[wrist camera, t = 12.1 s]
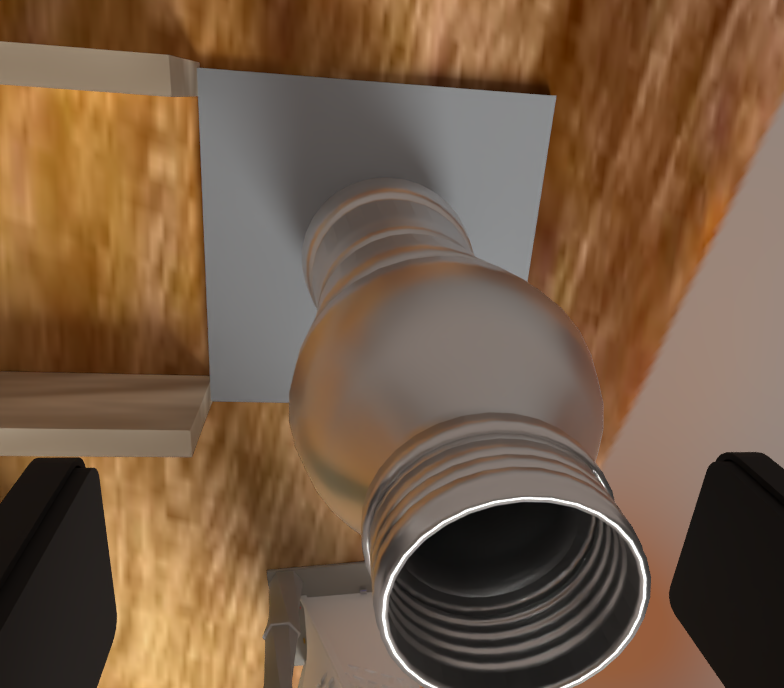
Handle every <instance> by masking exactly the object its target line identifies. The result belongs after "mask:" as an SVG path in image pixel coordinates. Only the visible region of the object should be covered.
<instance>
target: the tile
mask: <svg viewBox="0 0 784 688" xmlns="http://www.w3.org/2000/svg"><path fill="white" fill-rule="evenodd" d="M197 82H198V105H199V129H200V153H201V177H202V200H203V224H204V248H205V272H206V296H207V319H208V343H209V367H210V391H211V401H220V402H277V403H289V391H290V387H291V383H292V379H293V375H294V371H295V366H296V363H297V359H298V355H299V351H300V348H301V346H302V344H303V342H304V340H305V338H306V336H307V334H308V331H309V329H310V327H311V325H312V324H313V322H314V319H315V317H316V314H317V308H316V307H315V305H314V303H313V300H312V298H311V296H310V293H309V291H308V288H307V286H306V283H305V279H304V274H303V269H302V247H303V242H304V238H305V234H306V231H307V229H308V227H309V225H310V222H311V220H312V218H313V217H314V215H315V214H316V213H317V211H318V210H319V209H320V207H321V206H322V205H323V204H324V203H325V202H326V201H327V200H328V199H329V198H330V197H332V196H333V195H334V194H335V193H336V192H338V191H340V190H342V189H344V188H345V187H347V186H349V185H351V184H354V183H357V182H360V181H363V180H366V179H374V178H383V177H387V178H398V179H404V180H408V181H411V182H414V183H418V184H420V185H422V186H424V187H426V188H428V189H430V190H431V191H433V192H435V193H436V194H437V195H439V196H440V197H441V198H442V199H444V200H445V201H446V202H447V203H448V204H449V205H450V206H451V208H452V209H453V210H454V211H455V212H456V214H457V215H458V216H459V218H460V220H461V222H462V224H463V226H464V228H465V229H466V232H467V234H468V237H469V239H470V242H471V246H472V249H473V253H474V256H475V257H477V258H479V259H482V260H484V261H486V262H488V263H491V264H493V265H495V266H499V267H500V268H502V269H504V270H506V271H508V272H510V273H512V274H514V275H516V276H518V277H520V278H522V279H524V280H525V281H526V282H527V280H528V273H529V267H530V261H531V254H532V248H533V241H534V235H535V229H536V222H537V216H538V210H539V203H540V197H541V190H542V184H543V178H544V171H545V165H546V158H547V152H548V146H549V139H550V133H551V126H552V120H553V114H554V107H555V101H556V96H550V95H538V94H525V93H512V92H500V91H487V90H474V89H462V88H449V87H436V86H423V85H411V84H398V83H385V82H373V81H360V80H347V79H335V78H322V77H309V76H297V75H284V74H271V73H259V72H246V71H233V70H221V69H208V68H197Z"/></svg>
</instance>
